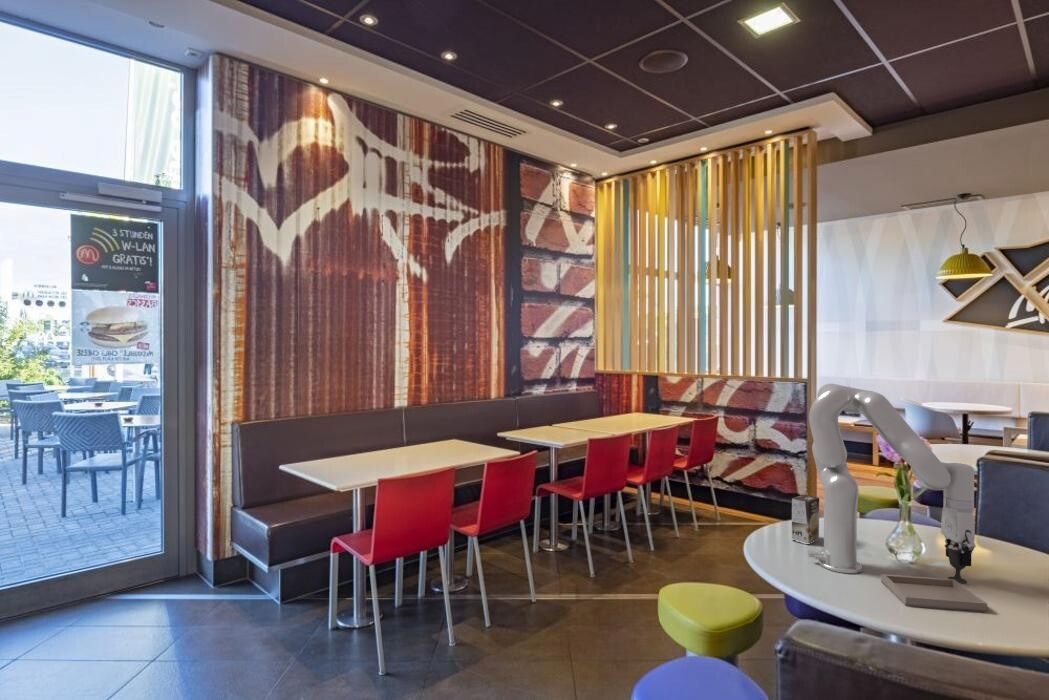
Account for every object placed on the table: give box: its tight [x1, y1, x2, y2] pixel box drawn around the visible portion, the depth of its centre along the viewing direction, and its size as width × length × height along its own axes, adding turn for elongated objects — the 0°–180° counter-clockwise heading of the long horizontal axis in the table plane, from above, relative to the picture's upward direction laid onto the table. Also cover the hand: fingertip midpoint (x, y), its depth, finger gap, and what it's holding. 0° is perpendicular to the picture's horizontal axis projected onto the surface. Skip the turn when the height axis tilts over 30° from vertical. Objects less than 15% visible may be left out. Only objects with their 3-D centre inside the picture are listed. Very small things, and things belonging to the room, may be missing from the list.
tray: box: [880, 573, 988, 613], centre depth 162 cm, size 20×16×2 cm
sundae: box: [944, 538, 969, 585], centre depth 173 cm, size 7×7×15 cm
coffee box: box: [791, 494, 820, 544], centre depth 208 cm, size 9×6×16 cm
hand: (958, 560), depth 173 cm, fingers closed on sundae, 6 cm apart
